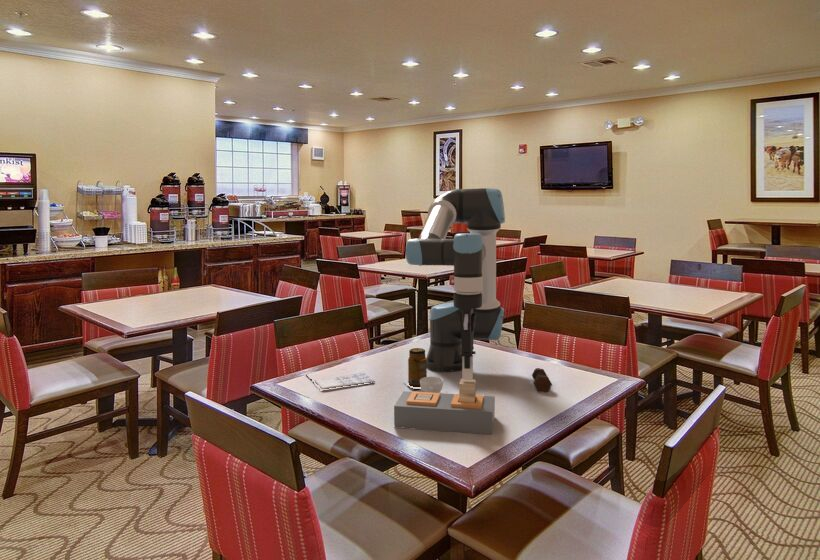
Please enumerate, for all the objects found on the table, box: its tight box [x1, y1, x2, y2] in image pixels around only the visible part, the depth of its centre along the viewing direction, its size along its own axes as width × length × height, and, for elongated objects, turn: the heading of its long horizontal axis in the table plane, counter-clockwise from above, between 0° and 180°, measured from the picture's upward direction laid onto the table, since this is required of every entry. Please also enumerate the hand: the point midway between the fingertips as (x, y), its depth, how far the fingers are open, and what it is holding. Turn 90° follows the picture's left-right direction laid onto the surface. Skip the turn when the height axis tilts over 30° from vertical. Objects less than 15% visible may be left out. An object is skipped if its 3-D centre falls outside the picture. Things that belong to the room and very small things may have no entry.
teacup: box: [416, 376, 448, 394], centre depth 174 cm, size 10×10×5 cm
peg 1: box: [415, 394, 432, 400], centre depth 152 cm, size 4×4×7 cm
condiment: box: [407, 347, 428, 391], centre depth 181 cm, size 7×8×12 cm
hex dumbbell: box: [531, 367, 553, 393], centre depth 182 cm, size 6×5×15 cm
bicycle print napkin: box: [314, 370, 376, 389], centre depth 190 cm, size 19×20×2 cm
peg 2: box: [458, 378, 477, 403], centre depth 149 cm, size 4×4×7 cm
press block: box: [393, 390, 496, 435], centre depth 151 cm, size 12×26×7 cm, turn 79°
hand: (467, 378), depth 148 cm, fingers closed
